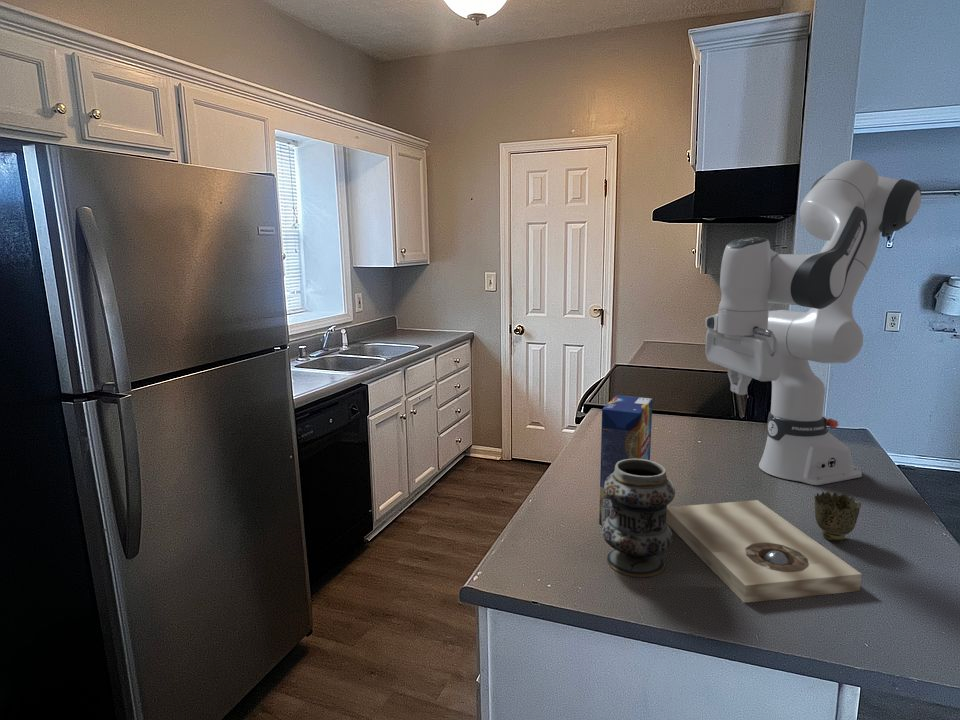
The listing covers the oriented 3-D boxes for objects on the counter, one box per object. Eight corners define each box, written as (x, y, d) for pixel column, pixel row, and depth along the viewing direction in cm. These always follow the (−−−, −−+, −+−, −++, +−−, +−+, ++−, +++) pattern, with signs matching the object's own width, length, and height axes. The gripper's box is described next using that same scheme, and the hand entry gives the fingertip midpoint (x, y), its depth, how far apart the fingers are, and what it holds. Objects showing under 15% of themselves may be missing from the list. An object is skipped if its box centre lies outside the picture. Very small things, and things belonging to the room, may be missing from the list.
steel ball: (775, 555, 102) (785, 544, 99) (788, 577, 100) (798, 567, 97) (755, 558, 102) (764, 548, 99) (766, 581, 99) (776, 571, 96)
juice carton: (636, 531, 115) (641, 413, 110) (599, 523, 118) (601, 409, 114) (648, 506, 125) (652, 398, 121) (613, 500, 129) (616, 394, 124)
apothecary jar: (685, 574, 100) (691, 475, 96) (622, 587, 96) (626, 484, 93) (646, 541, 111) (650, 451, 108) (588, 551, 108) (591, 458, 104)
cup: (803, 529, 115) (806, 491, 113) (841, 529, 114) (845, 490, 113) (823, 548, 107) (828, 508, 106) (865, 548, 107) (869, 507, 106)
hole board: (756, 513, 121) (757, 500, 121) (859, 590, 94) (861, 574, 94) (664, 521, 119) (665, 507, 118) (743, 602, 92) (745, 585, 91)
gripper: (793, 330, 103) (787, 406, 106) (729, 316, 123) (725, 380, 126) (759, 332, 102) (754, 408, 105) (700, 318, 122) (698, 382, 125)
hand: (738, 393), depth 116 cm, fingers closed
